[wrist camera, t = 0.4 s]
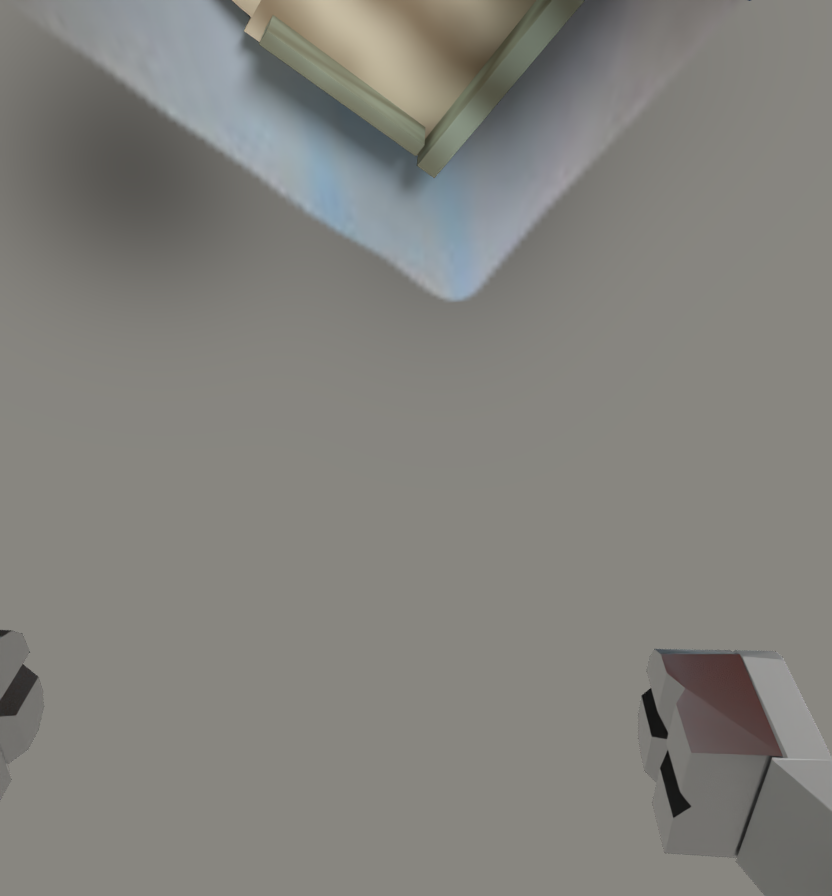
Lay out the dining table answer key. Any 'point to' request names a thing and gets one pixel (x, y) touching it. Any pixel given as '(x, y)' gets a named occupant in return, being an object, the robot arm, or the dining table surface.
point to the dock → (411, 59)
